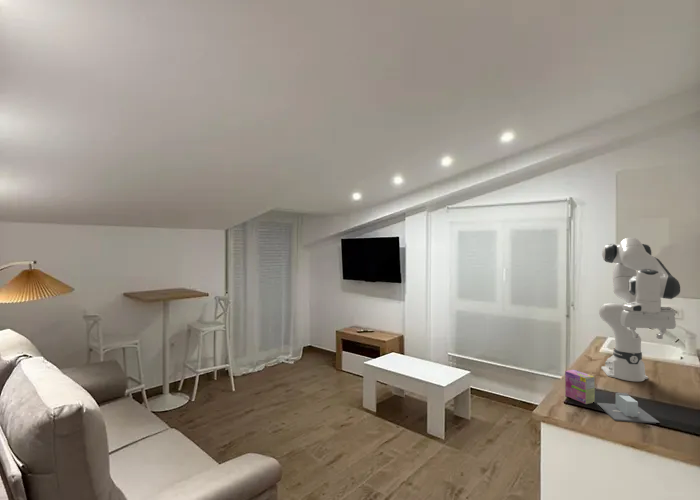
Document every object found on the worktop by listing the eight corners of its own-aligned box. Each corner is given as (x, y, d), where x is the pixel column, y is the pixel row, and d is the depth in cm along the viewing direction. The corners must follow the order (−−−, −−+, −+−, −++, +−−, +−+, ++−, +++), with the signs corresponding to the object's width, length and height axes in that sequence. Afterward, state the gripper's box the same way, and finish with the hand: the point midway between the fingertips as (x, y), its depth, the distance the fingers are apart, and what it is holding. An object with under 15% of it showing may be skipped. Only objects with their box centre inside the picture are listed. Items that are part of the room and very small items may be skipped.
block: (626, 416, 155) (626, 400, 155) (615, 406, 164) (615, 392, 164) (637, 416, 155) (638, 401, 155) (625, 407, 164) (625, 393, 164)
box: (564, 395, 178) (565, 370, 178) (573, 394, 180) (574, 369, 180) (585, 404, 168) (585, 378, 168) (594, 402, 170) (595, 376, 170)
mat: (596, 404, 169) (596, 402, 169) (636, 406, 166) (636, 405, 166) (614, 420, 153) (614, 418, 153) (659, 423, 150) (659, 422, 150)
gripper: (669, 306, 170) (669, 337, 170) (618, 304, 173) (618, 335, 173) (679, 308, 163) (679, 340, 164) (626, 307, 167) (626, 338, 167)
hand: (647, 338), depth 168 cm, fingers open, 8 cm apart
